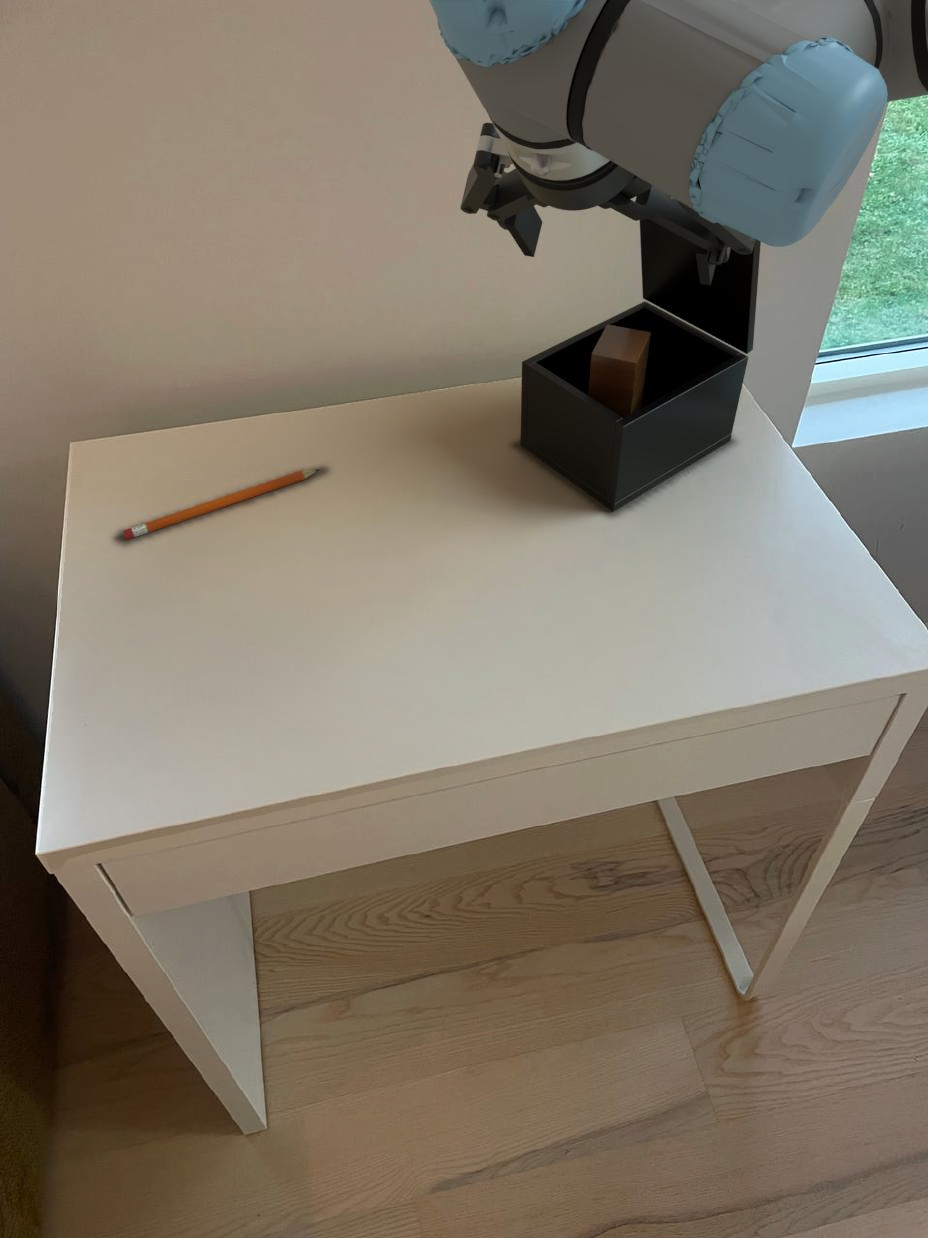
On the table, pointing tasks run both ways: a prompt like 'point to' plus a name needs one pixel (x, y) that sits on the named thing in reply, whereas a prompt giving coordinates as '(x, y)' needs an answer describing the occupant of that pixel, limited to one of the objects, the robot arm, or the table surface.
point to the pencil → (217, 503)
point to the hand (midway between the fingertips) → (619, 252)
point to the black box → (650, 437)
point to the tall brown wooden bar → (619, 369)
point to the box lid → (700, 286)
